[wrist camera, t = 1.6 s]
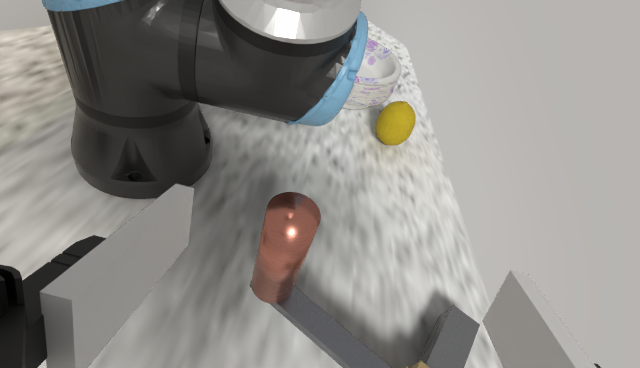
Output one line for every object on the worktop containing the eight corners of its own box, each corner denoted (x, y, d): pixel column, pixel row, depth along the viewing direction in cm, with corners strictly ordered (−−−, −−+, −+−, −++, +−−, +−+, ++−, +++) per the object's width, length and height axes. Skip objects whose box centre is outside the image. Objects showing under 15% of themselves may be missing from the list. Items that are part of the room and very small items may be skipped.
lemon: (407, 154, 56) (430, 113, 51) (378, 157, 54) (399, 115, 48) (391, 131, 60) (411, 91, 54) (363, 133, 57) (381, 91, 52)
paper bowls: (308, 115, 57) (319, 71, 51) (300, 65, 67) (309, 24, 61) (394, 126, 61) (414, 86, 55) (374, 77, 71) (389, 39, 65)
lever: (239, 291, 30) (252, 213, 23) (270, 261, 33) (292, 182, 25) (440, 470, 25) (550, 451, 17) (459, 418, 28) (561, 381, 20)
